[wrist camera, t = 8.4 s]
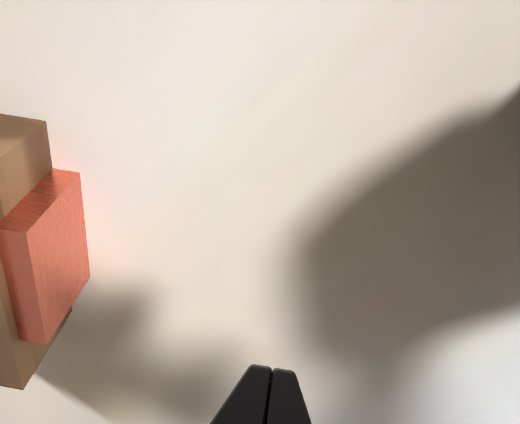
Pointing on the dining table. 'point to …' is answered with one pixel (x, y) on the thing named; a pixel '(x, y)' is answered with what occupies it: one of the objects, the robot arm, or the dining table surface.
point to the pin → (45, 254)
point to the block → (3, 201)
